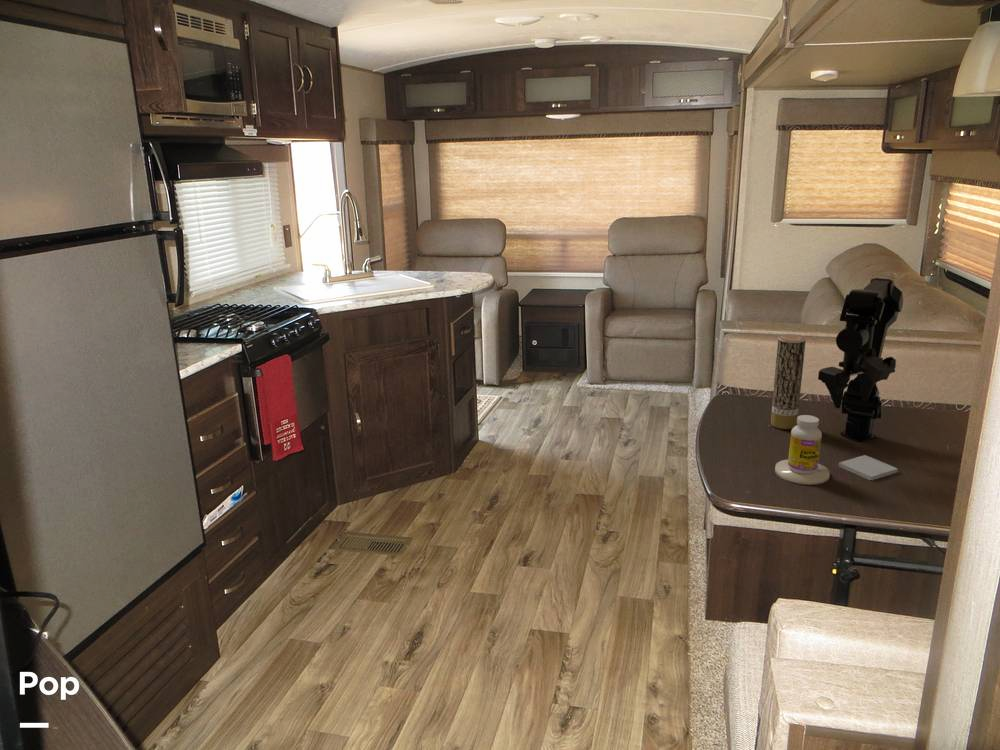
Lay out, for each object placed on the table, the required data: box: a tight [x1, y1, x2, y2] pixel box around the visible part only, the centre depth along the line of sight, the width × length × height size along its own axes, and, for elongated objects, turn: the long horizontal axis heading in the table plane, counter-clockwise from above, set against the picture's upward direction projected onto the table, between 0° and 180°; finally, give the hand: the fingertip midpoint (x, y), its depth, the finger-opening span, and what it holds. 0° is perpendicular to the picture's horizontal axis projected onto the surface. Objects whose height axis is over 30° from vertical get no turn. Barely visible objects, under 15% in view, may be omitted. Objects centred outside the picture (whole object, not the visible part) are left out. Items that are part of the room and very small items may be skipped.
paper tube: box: [770, 333, 807, 430], centre depth 203 cm, size 7×7×25 cm
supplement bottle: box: [787, 414, 823, 474], centre depth 177 cm, size 7×7×13 cm
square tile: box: [838, 454, 899, 481], centre depth 180 cm, size 9×9×1 cm
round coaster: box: [774, 458, 831, 486], centre depth 179 cm, size 12×12×1 cm
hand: (850, 404), depth 185 cm, fingers open, 9 cm apart
